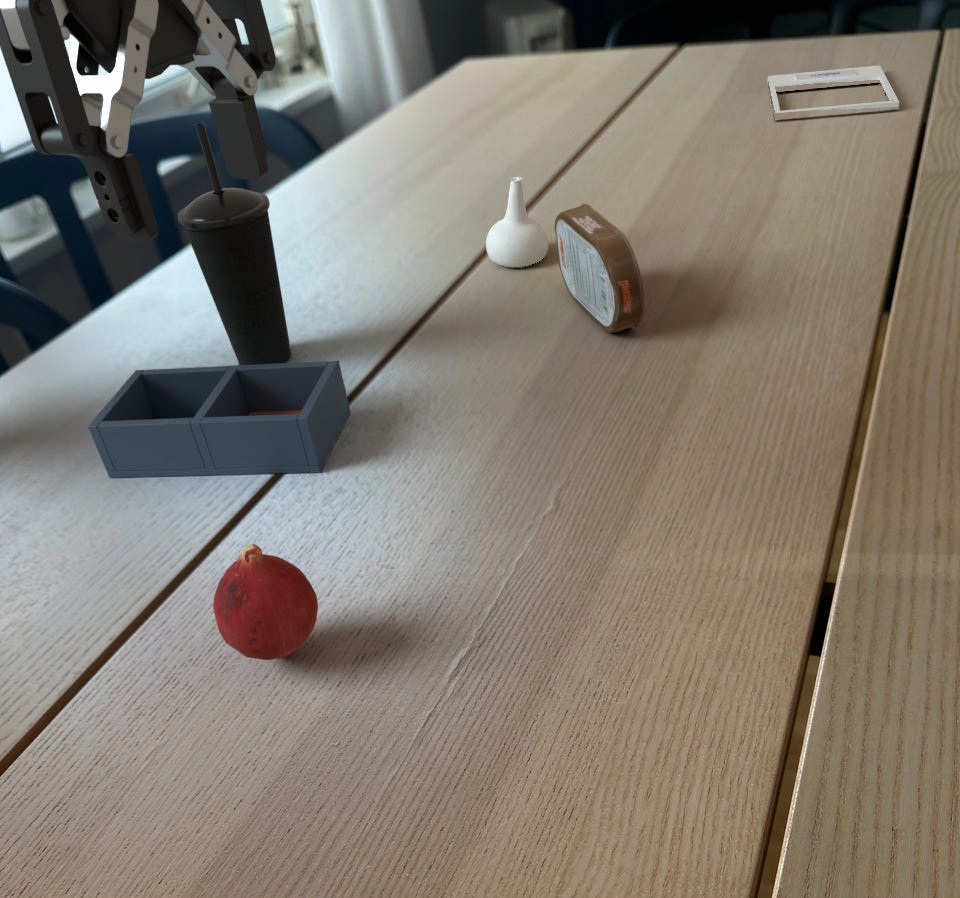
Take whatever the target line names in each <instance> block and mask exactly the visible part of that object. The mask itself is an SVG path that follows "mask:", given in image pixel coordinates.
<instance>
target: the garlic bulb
mask: <svg viewBox="0 0 960 898" xmlns="http://www.w3.org/2000/svg"><path fill="white" fill-rule="evenodd" d="M522 181H523V177H521V176H514V177H513V176H512V177H511V178H510V182H509V185H510V186H509V193H508V200H507V207H506V211H505V215H504V217H503V218H502V219H500V220H498V221H497V222H495V223H494V224H493V225H492V226H491V228H490V229H489V231H488V233H487V235H486V240H485V241H486V242H485V249H486V253H487V256H488V258H489V260H491V261H492V262H493V263H494V264H496V265H499V266H501V267H506V268H525V266H526V267H530V266H533V265H532V264H534V265H536V264H538V263H540V262H542V261H543V260H544V259H545V258H546V257H547V254H548V250H549V237H548V234H547V232H546V230H545V228H544V227H543V226H542V225H541V223H540V222H538V221H537V220H535V219H534V218H532V217H529V216H528V213H527V208H526V203H525V198H524V197H525V196H524V191H523V184H522V183H523V182H522ZM543 258H544V259H543ZM542 259H543V260H542ZM539 261H540V262H539ZM537 262H538V263H537ZM535 263H536V264H535ZM529 265H530V266H529Z"/></svg>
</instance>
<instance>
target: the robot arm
mask: <svg viewBox="0 0 960 898" xmlns="http://www.w3.org/2000/svg"><path fill="white" fill-rule="evenodd" d="M236 20H240V22H241V23H242V24H243V28H244V31H245V35H246V38H247V42H248V43H243V42H242V39H241V35H240V33H239V29H238V25H237V21H236ZM268 25H269V24H268V22H267V19H266V14H265V10H264V7H263V3H262V0H0V51H1V55H2V57H3V60H4V63H5V67H6V68H7V69H6V70H7V72H8V74H9V77H10V80H11V84H12V86H13V89H14V92H15V95H16V98H17V101H18V104H19V105H18V106H19V107H20V111H21V113H22V116H23V119H24V123H25V126H26V128H27V131H28V134H29V137H30V140H31V143H32V146H33V147H34V149H35V150H36V151H37V152H38V153H40V154H42V155H46V156H47V155H48V156H49V155H50V156H51V155H52V156H53V155H54V156H55V155H56V156H70V157H75V158H77V159H78V160H79V161H80V162H81V163H82V165H83V166H84V168H85V171H86V174H87V177H88V179H89V182H90V185H91V188H92V190H93V193H94V196H95V199H96V200H97V204H98V207H99V209H100V212H101V215H102V218H103V221H104V223H105V225H106V226H107V227H108V229H109V230H110V231H111V232H112V233H115V234H116V236H117V238H119V239H120V240H122V241H124V242H131V243H132V242H133V243H134V242H135V243H148V242H149V241H152V240H153V239H155V238H157V237H158V236H159V234H160V228H159V225H158V222H157V219H156V215H155V211H154V209H153V207H152V204H151V200H150V197H149V194H148V191H147V189H146V185H145V182H144V179H143V175H142V172H141V170H140V167H139V164H138V161H137V158H136V154H135V153H127V152H128V150H129V149H128V148H129V141H130V133H131V126H132V125H131V124H132V117H133V111H134V109H135V108H136V107H137V106H138V105H140V102H141V101H142V99H143V96H144V91H145V82H146V80H151V79H153V78H156V77H158V76H161V75H162V74H163V73H164V72H165V71H166V70H168V69H169V67H170V66H179V67H181V68H184V69H185V70H188V71H189V73H191V75H192V76H193V77H194V78H195V79H196V80H197V81H198V83H199V84H200V85H201V86H202V87H203V88H204V89H205V91H206V92H207V93H208V94H209V95H210V96H212V97H215V98H214V99H212V100H209V101H208V106H209V109H210V113H211V116H212V120H213V124H214V129H215V131H216V134H217V138H218V142H219V147H220V149H221V153H222V157H223V161H224V164H225V167H226V171H227V173H228V175H229V176H230V177H231V178H233V179H234V180H244V181H245V180H246V181H247V180H248V181H249V180H250V181H256V180H258V179H260V178H263V177H264V176H266V175H267V174H268V171H269V167H268V166H269V165H268V161H267V160H268V153H267V150H268V149H267V146H266V141H265V138H264V133H263V130H262V124H261V121H260V117H259V112H258V108H257V104H256V101H255V94H256V93H257V91H258V87H259V82H258V81H259V79H260V77H261V76H262V75H263V74H264V72H271V71H273V70H274V69H275V67H276V61H277V60H276V59H277V57H276V51H275V49H274V46H273V41H272V38H271V33H270V30H269V26H268ZM70 35H71V37H70ZM69 39H70V45H69V52H68V50H67V45H66V42H65V41H68V40H69ZM100 67H101V68H102V69H103V70H104V71H106V72H107V73H108V74H106V75H105V74H103V75H102V74H101V75H99V69H100Z"/></svg>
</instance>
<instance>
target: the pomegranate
mask: <svg viewBox="0 0 960 898" xmlns="http://www.w3.org/2000/svg"><path fill="white" fill-rule="evenodd" d="M239 553H240V554H239V555H238V558H237V560H235V561H234V562H233V563H232V564H231V565H230V566H229V567H227V569H226V570H225V572H224V573H223V575H222V577H221V578H220V580H219V582H218V584H217V587H216V589H215V592H214V596H213V602H212V603H213V604H212V605H213V607H212V609H213V613H214V618H215V622H216V625H217V629H218V632H219V634H220V636H221V637H222V639H223V641H224V643H226V644H227V645H229V647H231V648H233V649H234V650H235V651H237V652H238V653H240V654H241V655H242V656H244V657H246V658H250V659H255V660H263V661H264V660H265V661H271V660H276V659H285V658H287V657H289V656H290V655H291V654H292V653H294V652H295V651H296V650H297V649H299V648H300V647H301V646H302V645H303V644H304V643H305V642H306V641H307V640H308V639H309V637H310V635H311V634H312V633H313V631H314V629H315V625H316V622H317V618H318V611H319V603H318V596H317V593H316V591H315V589H314V587H313V586H312V585H313V584H311V582H310V580H309V579H308V577H307V576H306V575H305V573H304V572H303V571H302V570H301V569H300V568H299V567H298V566H296V565H294V564H293V563H292V562H290V561H287V560H286V559H284V558H282V557H280V556H276V555H271V554H265V553H264V554H263V550H262V548H261V547H260V546H258V545H257V544H255V543H251V544H246V545H245V546H243V549H242V550H241V551H240V552H239Z"/></svg>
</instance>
